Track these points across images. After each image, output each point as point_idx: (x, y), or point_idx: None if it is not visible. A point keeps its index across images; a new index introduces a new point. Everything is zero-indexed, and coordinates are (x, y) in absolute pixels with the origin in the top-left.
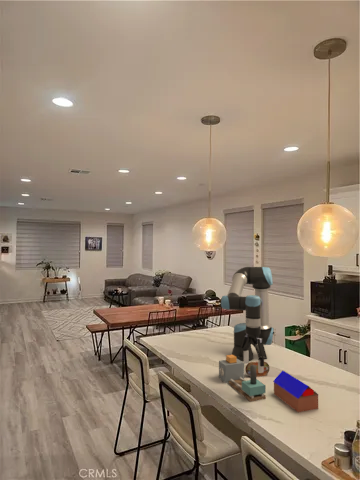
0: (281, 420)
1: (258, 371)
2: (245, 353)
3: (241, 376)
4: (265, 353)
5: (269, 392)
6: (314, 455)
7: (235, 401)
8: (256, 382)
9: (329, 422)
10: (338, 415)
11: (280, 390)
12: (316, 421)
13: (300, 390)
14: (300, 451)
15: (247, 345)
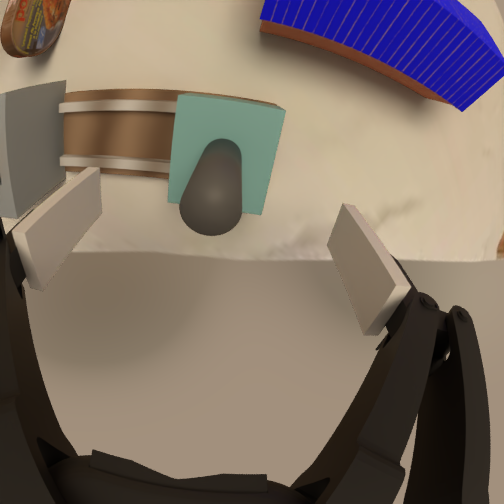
0: (413, 192)
1: (333, 251)
2: (50, 257)
3: (53, 97)
4: (478, 360)
5: (233, 37)
6: (489, 244)
7: (221, 234)
8: (222, 131)
9: (491, 92)
10: None
11: (329, 41)
12: (474, 112)
13: (473, 79)
14: (472, 256)
15: (35, 368)
